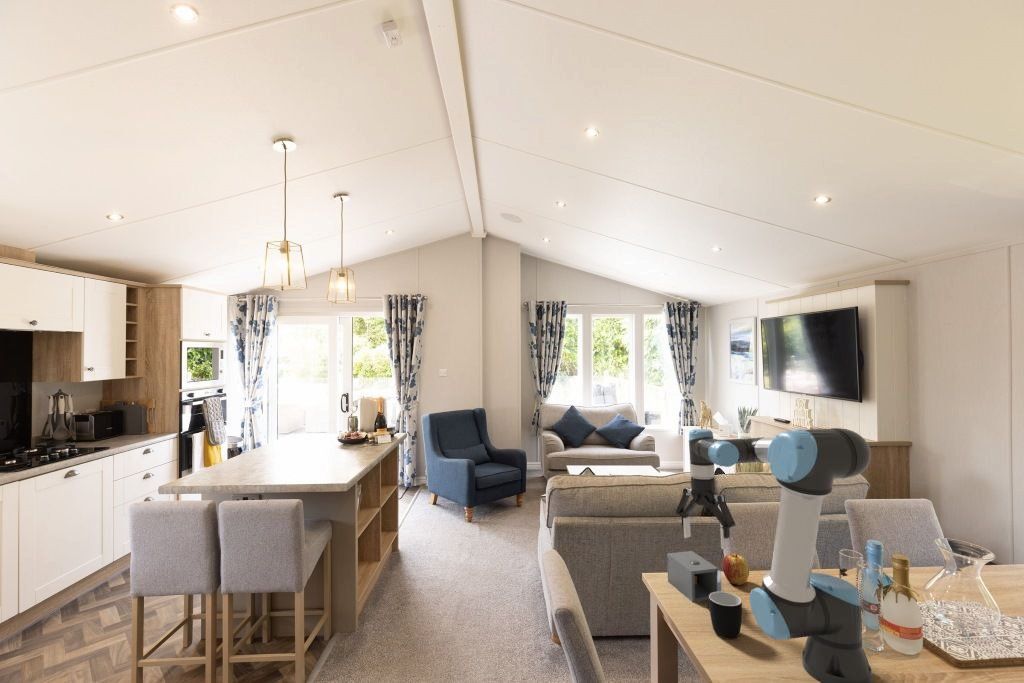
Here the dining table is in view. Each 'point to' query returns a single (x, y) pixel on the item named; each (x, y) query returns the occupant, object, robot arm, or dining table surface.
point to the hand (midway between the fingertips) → (705, 542)
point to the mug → (725, 614)
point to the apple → (735, 569)
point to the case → (692, 575)
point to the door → (719, 581)
